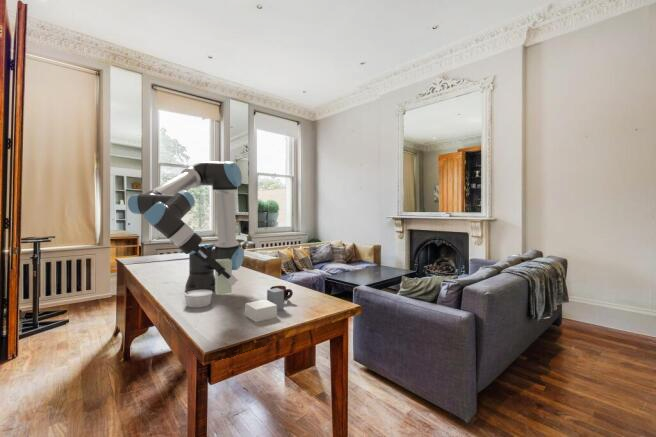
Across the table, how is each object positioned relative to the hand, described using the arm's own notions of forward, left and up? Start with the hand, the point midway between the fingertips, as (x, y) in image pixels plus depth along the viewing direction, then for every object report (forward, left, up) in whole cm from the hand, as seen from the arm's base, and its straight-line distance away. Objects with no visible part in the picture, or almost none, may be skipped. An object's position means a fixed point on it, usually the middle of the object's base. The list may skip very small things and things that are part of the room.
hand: (233, 280), depth 114 cm
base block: (+2, +10, -15) cm, 18 cm away
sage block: (0, -4, -4) cm, 5 cm away
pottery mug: (-13, +24, -15) cm, 31 cm away
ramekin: (-23, -10, -15) cm, 29 cm away
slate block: (-4, +18, -15) cm, 24 cm away
